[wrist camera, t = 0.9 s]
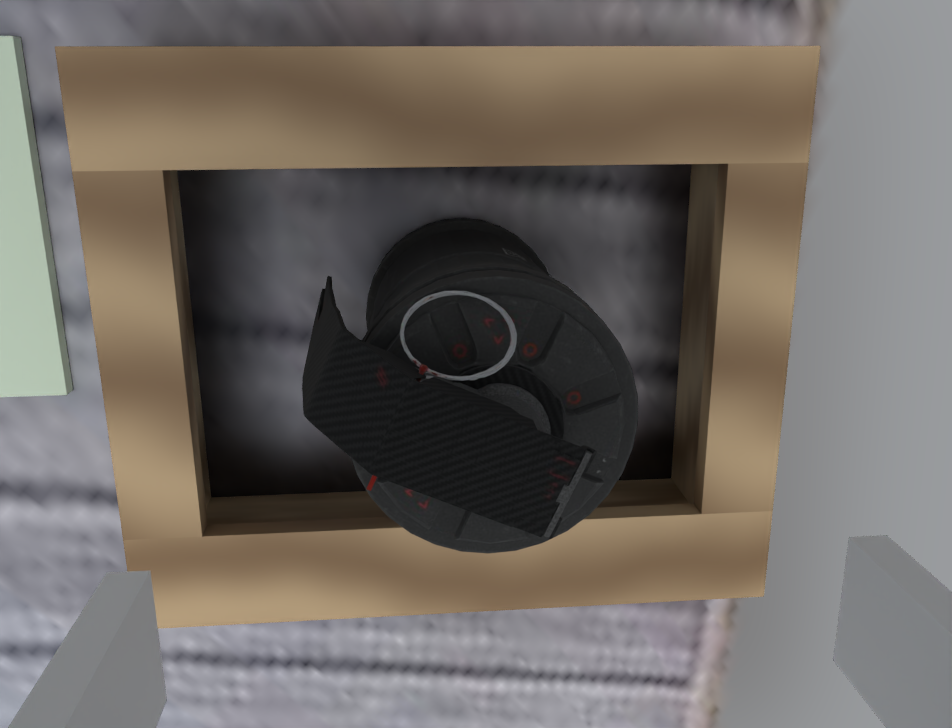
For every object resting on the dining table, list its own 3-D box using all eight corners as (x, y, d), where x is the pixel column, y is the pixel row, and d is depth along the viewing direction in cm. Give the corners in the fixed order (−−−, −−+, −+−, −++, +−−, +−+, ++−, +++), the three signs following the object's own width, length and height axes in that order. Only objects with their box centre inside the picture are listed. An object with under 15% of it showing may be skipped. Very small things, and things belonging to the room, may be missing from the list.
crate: (142, 61, 38) (55, 46, 28) (719, 60, 40) (820, 45, 30) (193, 516, 44) (135, 629, 34) (688, 494, 46) (763, 596, 36)
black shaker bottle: (505, 421, 44) (585, 664, 25) (301, 340, 42) (219, 537, 23) (583, 258, 42) (737, 386, 23) (374, 164, 40) (349, 218, 21)
